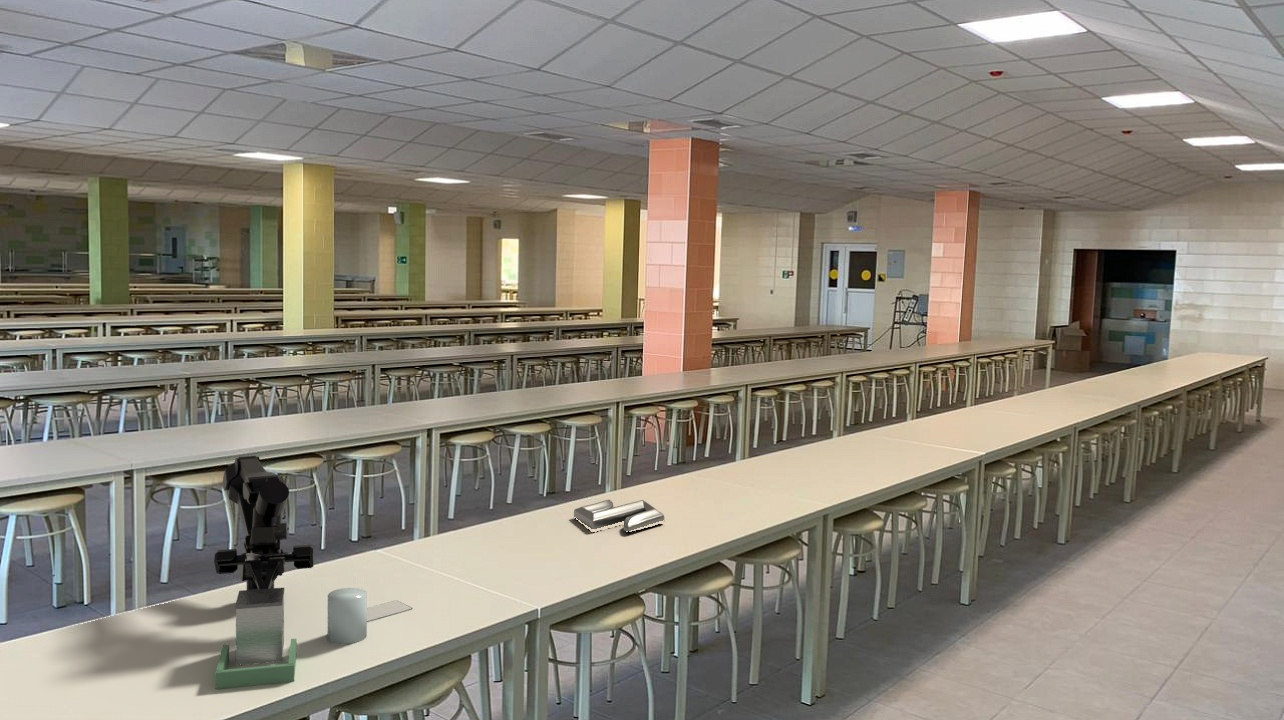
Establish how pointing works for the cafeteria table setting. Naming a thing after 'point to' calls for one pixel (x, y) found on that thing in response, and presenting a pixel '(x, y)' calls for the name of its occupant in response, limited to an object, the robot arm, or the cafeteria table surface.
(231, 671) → the bay
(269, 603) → the tin
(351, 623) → the round-topped grey cylinder
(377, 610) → the smartphone
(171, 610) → the cafeteria table surface
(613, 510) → the emblem
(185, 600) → the cafeteria table surface
